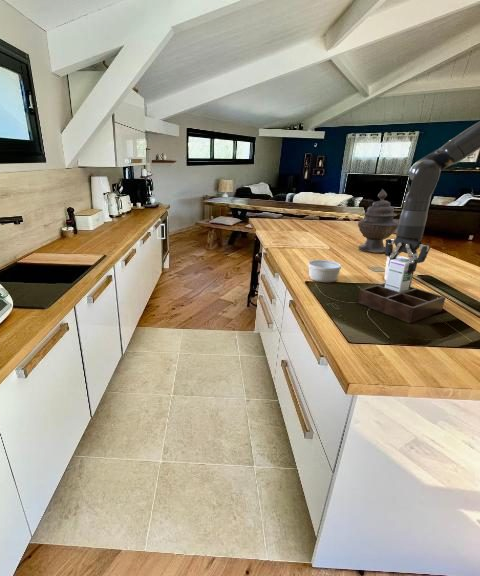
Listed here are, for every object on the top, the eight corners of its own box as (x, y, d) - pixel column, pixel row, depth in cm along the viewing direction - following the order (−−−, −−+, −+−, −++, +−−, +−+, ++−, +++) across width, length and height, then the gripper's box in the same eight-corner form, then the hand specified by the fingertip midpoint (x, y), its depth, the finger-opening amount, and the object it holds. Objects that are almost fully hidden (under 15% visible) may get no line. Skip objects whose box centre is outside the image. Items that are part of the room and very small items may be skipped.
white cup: (381, 276, 141) (386, 254, 138) (402, 278, 138) (407, 256, 134) (383, 281, 135) (388, 259, 131) (404, 284, 131) (410, 261, 128)
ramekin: (327, 273, 146) (330, 258, 144) (345, 282, 134) (348, 267, 131) (301, 275, 144) (303, 260, 142) (316, 284, 132) (319, 269, 129)
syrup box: (397, 302, 112) (406, 263, 107) (381, 296, 117) (390, 259, 112) (407, 299, 114) (417, 261, 109) (392, 293, 119) (400, 257, 114)
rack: (441, 311, 107) (446, 297, 105) (409, 323, 99) (413, 308, 97) (388, 293, 122) (391, 280, 120) (357, 302, 114) (360, 289, 112)
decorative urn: (395, 255, 170) (404, 188, 160) (353, 253, 180) (360, 190, 170) (394, 249, 186) (402, 187, 176) (356, 248, 196) (362, 189, 186)
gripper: (441, 225, 101) (428, 274, 107) (397, 219, 113) (387, 264, 119) (428, 227, 98) (415, 278, 104) (384, 221, 110) (375, 267, 116)
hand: (400, 270), depth 112 cm, fingers closed on syrup box, 6 cm apart
